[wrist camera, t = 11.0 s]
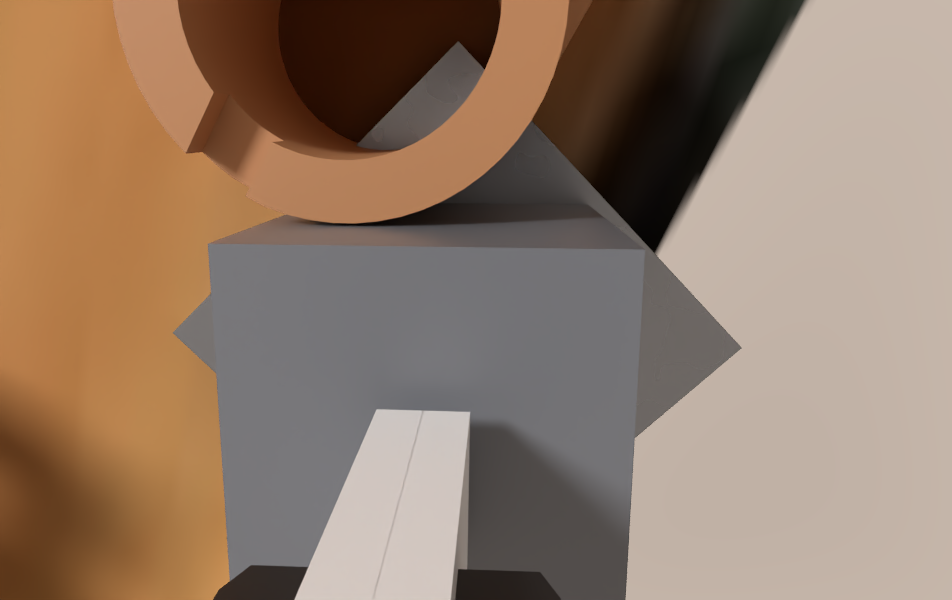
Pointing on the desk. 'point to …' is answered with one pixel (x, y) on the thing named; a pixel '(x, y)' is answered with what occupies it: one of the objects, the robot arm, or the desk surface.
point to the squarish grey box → (436, 376)
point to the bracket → (300, 133)
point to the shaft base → (544, 182)
